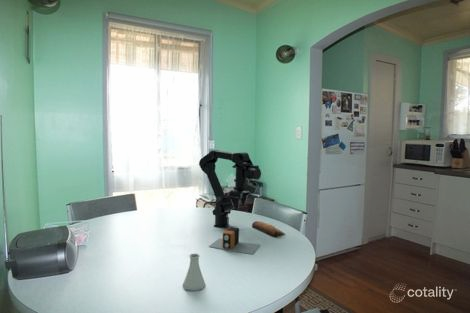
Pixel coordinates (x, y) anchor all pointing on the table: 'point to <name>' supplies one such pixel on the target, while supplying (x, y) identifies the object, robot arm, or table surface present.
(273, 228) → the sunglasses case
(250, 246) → the rubber mat
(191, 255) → the flask
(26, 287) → the table surface
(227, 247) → the battery
